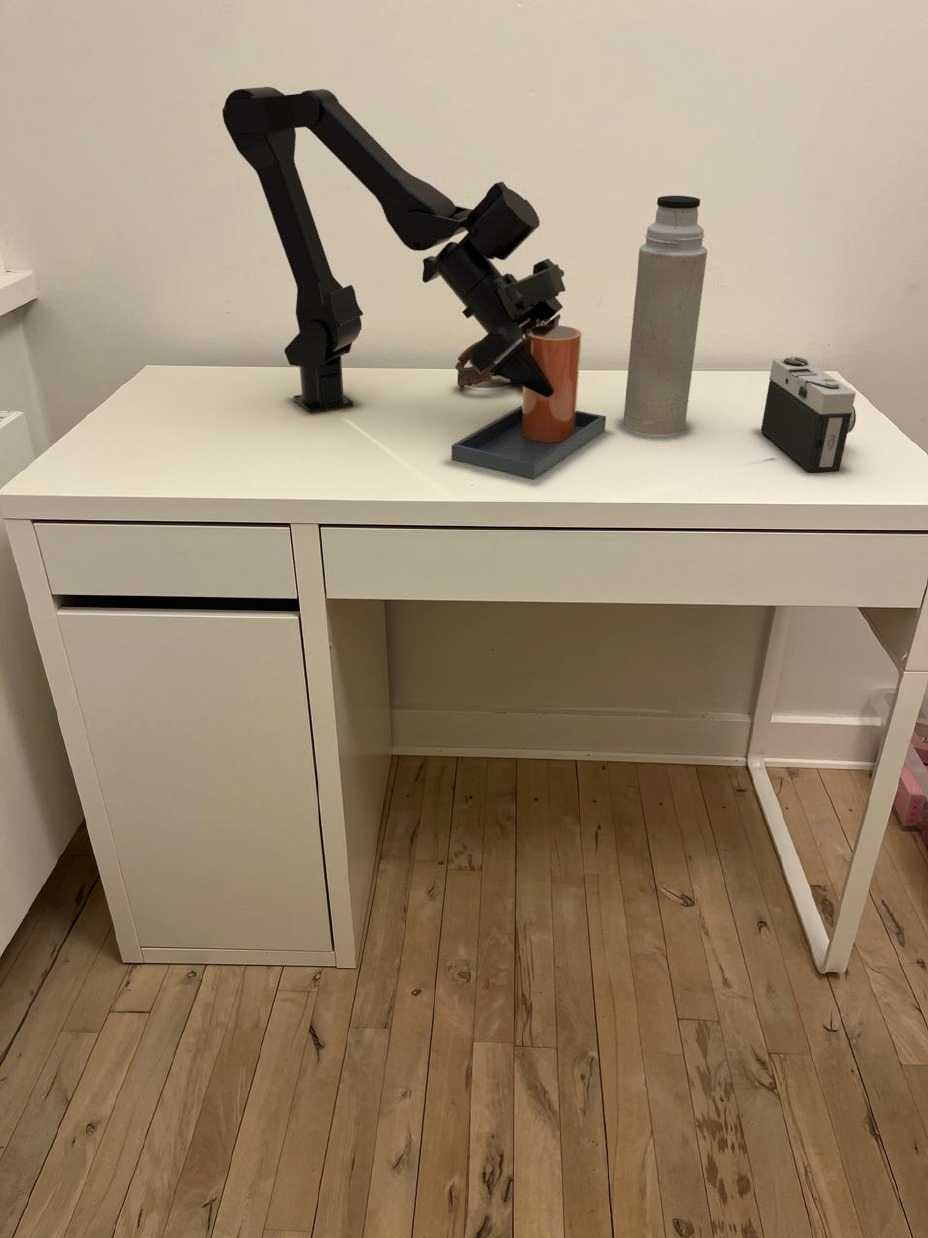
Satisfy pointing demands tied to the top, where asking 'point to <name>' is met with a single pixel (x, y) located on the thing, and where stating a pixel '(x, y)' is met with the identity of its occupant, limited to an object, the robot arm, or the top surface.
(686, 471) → the top surface
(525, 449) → the tray
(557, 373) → the tumbler
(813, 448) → the camera
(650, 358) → the thermos bottle
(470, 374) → the brown curved loop
